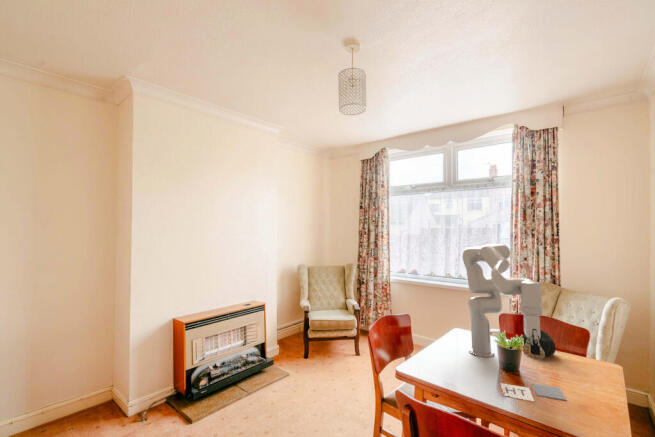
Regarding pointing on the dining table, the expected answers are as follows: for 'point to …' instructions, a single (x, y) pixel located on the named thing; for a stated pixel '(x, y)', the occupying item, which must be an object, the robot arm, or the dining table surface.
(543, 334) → the squash
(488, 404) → the dining table surface
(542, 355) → the ornament
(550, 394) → the grey mat
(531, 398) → the tile
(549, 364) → the dining table surface
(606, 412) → the dining table surface
